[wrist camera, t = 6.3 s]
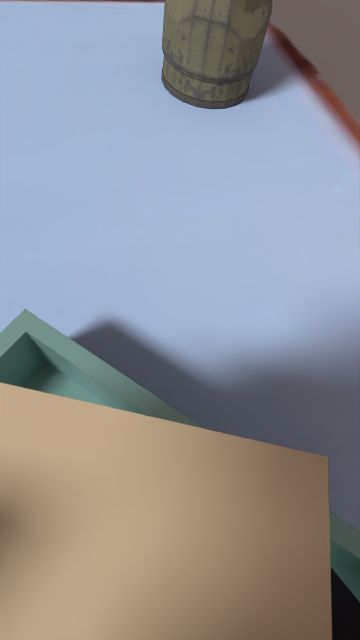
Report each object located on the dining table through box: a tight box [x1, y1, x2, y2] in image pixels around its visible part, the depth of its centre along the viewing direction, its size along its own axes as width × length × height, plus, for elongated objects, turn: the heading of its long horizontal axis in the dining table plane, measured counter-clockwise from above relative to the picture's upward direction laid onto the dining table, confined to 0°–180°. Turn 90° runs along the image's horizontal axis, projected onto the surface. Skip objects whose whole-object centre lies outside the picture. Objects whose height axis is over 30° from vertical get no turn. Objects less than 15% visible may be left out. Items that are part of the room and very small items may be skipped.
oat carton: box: [0, 383, 332, 640], centre depth 9 cm, size 4×6×10 cm
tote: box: [0, 309, 360, 601], centre depth 12 cm, size 16×18×4 cm
